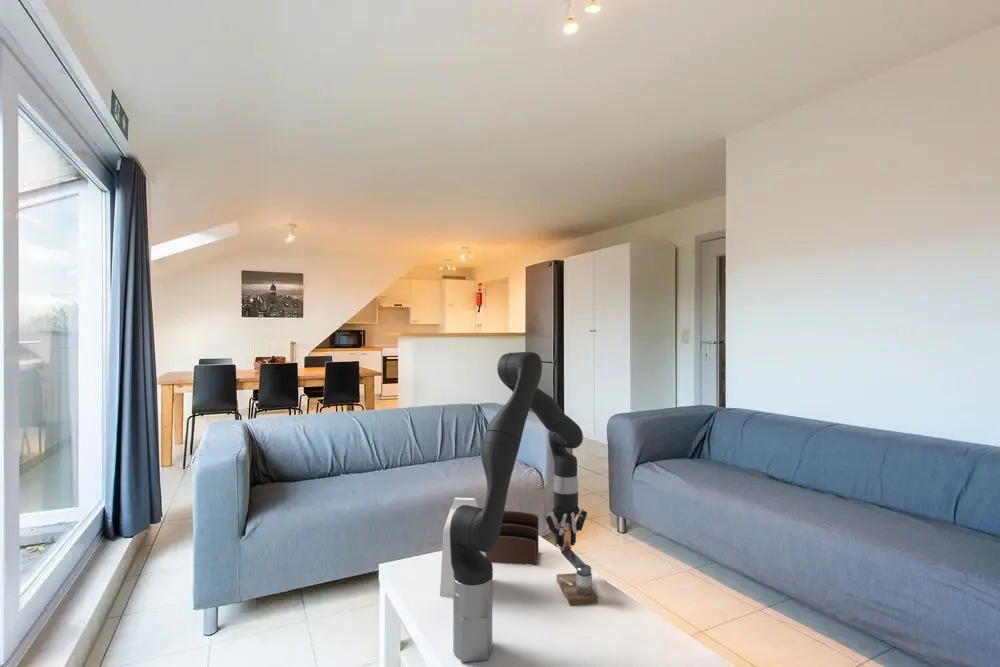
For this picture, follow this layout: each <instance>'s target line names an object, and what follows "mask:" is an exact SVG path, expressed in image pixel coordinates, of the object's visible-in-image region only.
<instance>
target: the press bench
mask: <svg viewBox="0 0 1000 667" xmlns="http://www.w3.org/2000/svg"><path fill="white" fill-rule="evenodd" d="M592 581H593V573H592V572H591V575H589V576H581V575H579V574H577V571H576V573H575V572H574V573H573V572H572V573H558V574H556V582H557V585H558V586H559V588H560V590H561V592H562V594H563V595H564V598H565V600H566V599H567V600H566V602H567V601H568V602H567V604H568V605H569V606H581V605H582V606H583V604H584V605H594V603H598V602H599V601H598V597H599V596H598V595H597V593H596V592H595V590H594V588H593V584H592V583H593V582H592Z"/></svg>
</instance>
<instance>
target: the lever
mask: <svg viewBox="0 0 1000 667" xmlns="http://www.w3.org/2000/svg"><path fill="white" fill-rule="evenodd" d="M562 535H563V547H560V553H561V554H562V556H564V558H566V560H567V561H568V562H569V563H570V564H571V565H572V566H573V568H574V569H576V572H577V574H579V575H581V576H589V575H591V573H592V566H591V565H589V564H586V563H585V562H584V561H583V560H582V559H581V558H580V557H579V556H578V555H577V554H576V553H575V552H574V551H573V550H572V545H571V528H569V526H568V527H567V526H564V528H563V533H562Z"/></svg>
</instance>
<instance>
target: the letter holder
mask: <svg viewBox="0 0 1000 667" xmlns="http://www.w3.org/2000/svg"><path fill="white" fill-rule="evenodd" d="M486 558H487V559H488V560H489V561H490V562H491V563H497V562H498V563H499V564H511V563H512V564H513V565H526V564H532V565H533V566H537V564H538V558H539V516H538V515H536V514H535V513H530V512H523V511H517V510H516V511H513V510H504V514H503V520H502V525H501V530H500V534H499V537H498V540H497V543H496V545H495V546H494V548H493V549H492V550H491V551H489V552H486ZM532 565H531V566H532Z"/></svg>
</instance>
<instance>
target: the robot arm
mask: <svg viewBox="0 0 1000 667" xmlns="http://www.w3.org/2000/svg"><path fill="white" fill-rule="evenodd" d="M496 369H497V374H498V377H499V380H500V381H501V382H502V383H503V384H504V385H505V386H506V387H507V388H508V389H509V390H510V391H512V394H511V396H510V398H509V399H508V400H507V402H506V403H505V404H504V405H503V406H502V408H501V409H500V410H499V411H498V412H497V413H496V414H495V416H493V418H492V419H491V420H490V422H489V423H488V425H487V427H486V430H485V433H484V437H483V440H482V444H481V447H480V458H481V463H482V466H483V471H484V474H485V477H486V478H485V479H486V484H487V487H486V488H487V490H486V496H485V497H486V498H485V500H484V506H483V508H482V507H479V506H478V507H474V506H469V505H462V506H460V507H458V508H457V509H456V510H455V512H454V514H453V516H452V519H451V524H450V551H451V565H452V569H453V571H454V597H453V609H452V610H453V612H452V613H453V617H452V618H453V620H452V621H453V626H452V628H453V629H452V633H453V634H452V635H453V636H452V638H453V640H452V641H453V642H452V643H453V648H452V650H453V653H454V655H455V656H456V657H457V658H458V659H459V660H460V662H461V663H468V662H469V663H470V662H482V661H488V660H489V656H490V655H491V654H492V652H493V607H494V606H493V604H494V603H493V595H494V594H493V589H494V588H493V586H494V585H493V579H494V578H493V576H494V575H493V574H494V572H493V571H494V568H493V562H490V561H489V560H488V559H487V558H486V557H485V556H484V555H483V554H482V553H481V552H480V551H482V552H489V551H491V550H492V549H493V548H494V546H495V545H496V543H497V540H498V537H499V534H500V530H501V525H502V520H503V514H504V511H505V509H506V502H507V497H508V492H509V487H510V482H511V479H512V473H513V472H514V468H515V464H516V460H517V456H518V453H519V450H520V446H521V442H522V439H523V438H522V437H523V433H524V429H525V425H526V422H527V417H528V415H529V412H530V410H532V412H533V413H534V414H535V415H536V416H537V418H538V420H539V421H540V422H541V423H542V425H543V427H544V428H545V429H546V430H548V437H547V438H548V443H549V447H550V450H551V455H552V458H553V461H554V463H553V464H554V465H553V466H554V468H553V470H554V472H553V474H554V475H553V486H552V488H553V489H552V490H553V509H552V512H549V513H545V514H544V518H545V520H546V523H547V525H548V529H549V531H551V532H552V533H553V535H555V542H556V545H557V546H558V547H559V548H561V547H563V535H562V533H563V528H564V527H566V526H565V525H566V524H568V527H569V528H571V546H575V544H576V543H577V532H579V531H582V530H583V527H584V524H585V522H586V518H587V516H588V512H587V511H586V510H584V509H583V508H581V509H580V507H579V478H578V459H577V457H576V456H575V455H573V454H572V453H571V452H569V451H567V449H577V448H579V447H581V445H582V444H583V440H584V435H583V434H584V433H583V430H582V428H581V427H580V426H579V424H578V423H576V421H574V420H573V419H572V418H570V416H568V415H567V414H565V413H564V411H563V409H562V408H561V407H560V405H559V404H558V402H557V401H556V400H555V399H554V398H553V397H551V395H549V394H547V393H546V392H544V391H543V390H542V389H540V388H538V386H539V384H540V381H541V377H542V372H543V363H542V359H541V356H540V355H539V354H538V353H536V352H535V351H533V352H532V351H518V352H508V353H507V352H506V353H504V354H502V355H501V356H500V358H499V359H498V362H497V368H496ZM554 518H556V520H555V519H554ZM576 518H577V519H576ZM554 520H555V523H554ZM555 525H556V526H555Z"/></svg>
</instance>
